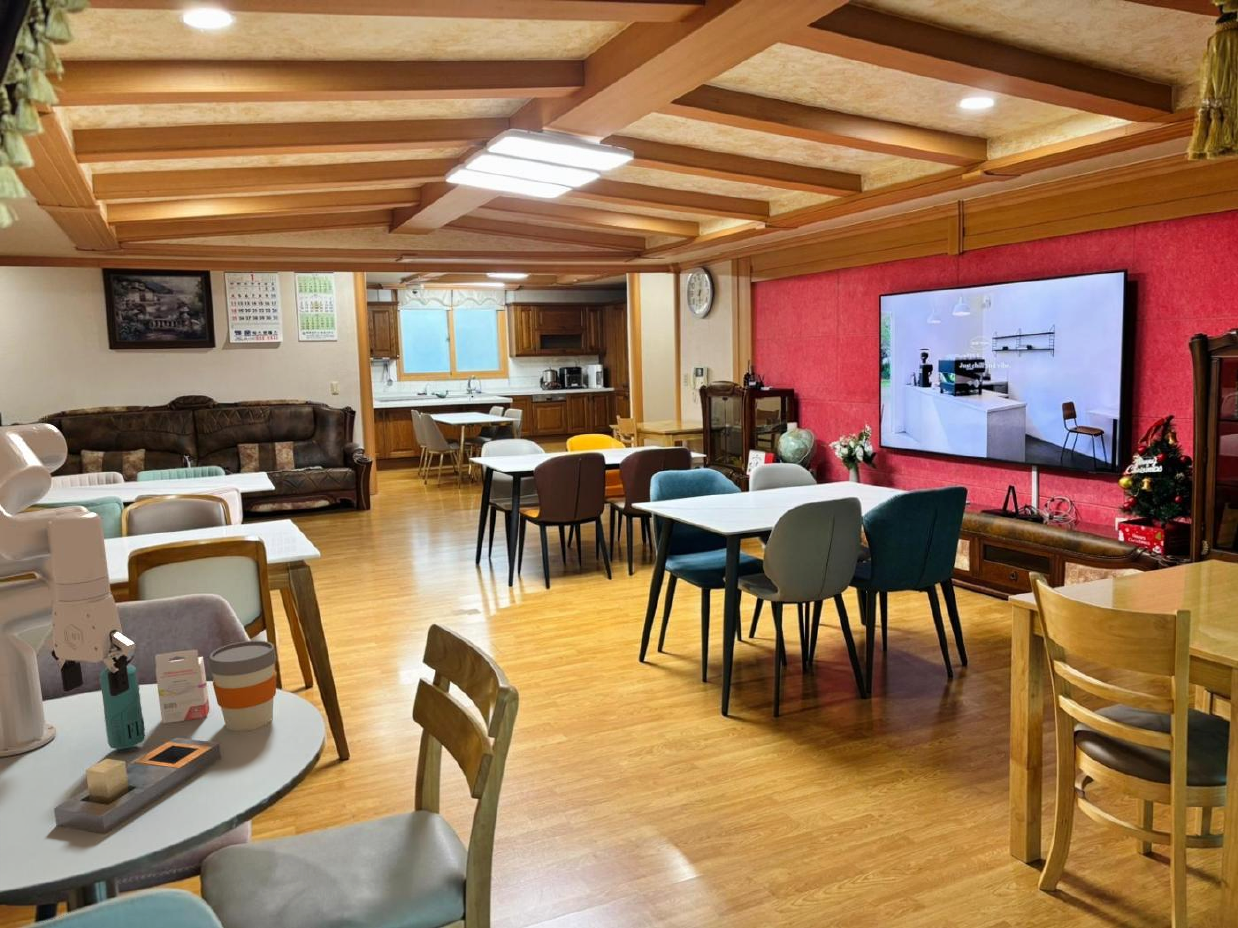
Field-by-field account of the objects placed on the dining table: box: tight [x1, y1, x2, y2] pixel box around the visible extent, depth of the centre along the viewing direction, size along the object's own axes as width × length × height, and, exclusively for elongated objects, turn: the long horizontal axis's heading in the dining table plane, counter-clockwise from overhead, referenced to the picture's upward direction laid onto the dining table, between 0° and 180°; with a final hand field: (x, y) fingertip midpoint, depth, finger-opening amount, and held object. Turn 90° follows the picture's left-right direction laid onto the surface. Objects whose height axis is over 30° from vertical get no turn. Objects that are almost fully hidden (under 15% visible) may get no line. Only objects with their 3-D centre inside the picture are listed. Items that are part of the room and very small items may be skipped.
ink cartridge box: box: [154, 649, 211, 724], centre depth 185 cm, size 9×5×15 cm, turn 106°
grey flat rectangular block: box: [53, 737, 222, 835], centre depth 156 cm, size 10×26×3 cm, turn 163°
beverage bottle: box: [99, 657, 146, 750], centre depth 171 cm, size 6×7×20 cm
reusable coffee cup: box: [209, 640, 278, 732], centre depth 182 cm, size 13×13×15 cm
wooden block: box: [85, 758, 129, 805], centre depth 149 cm, size 4×4×8 cm
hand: (96, 690), depth 146 cm, fingers open, 9 cm apart
